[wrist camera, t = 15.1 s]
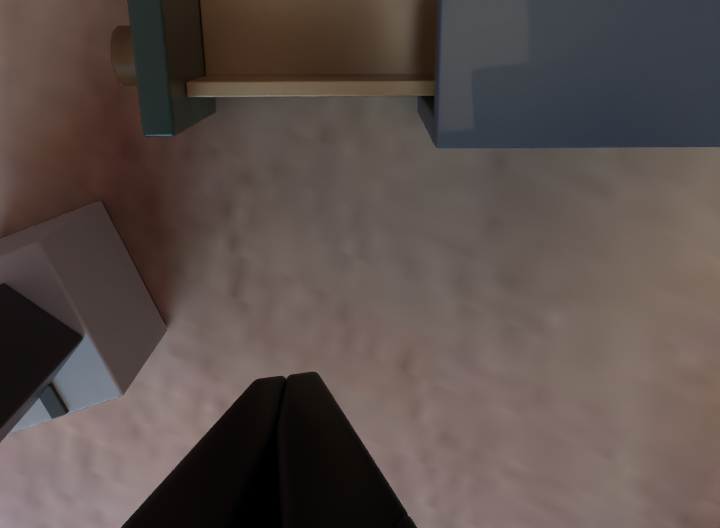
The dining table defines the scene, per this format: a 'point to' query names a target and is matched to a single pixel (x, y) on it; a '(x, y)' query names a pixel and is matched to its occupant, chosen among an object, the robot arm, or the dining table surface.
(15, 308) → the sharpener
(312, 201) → the dining table surface
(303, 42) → the drawer
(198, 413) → the dining table surface
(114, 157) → the dining table surface
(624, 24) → the cabinet
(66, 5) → the dining table surface
